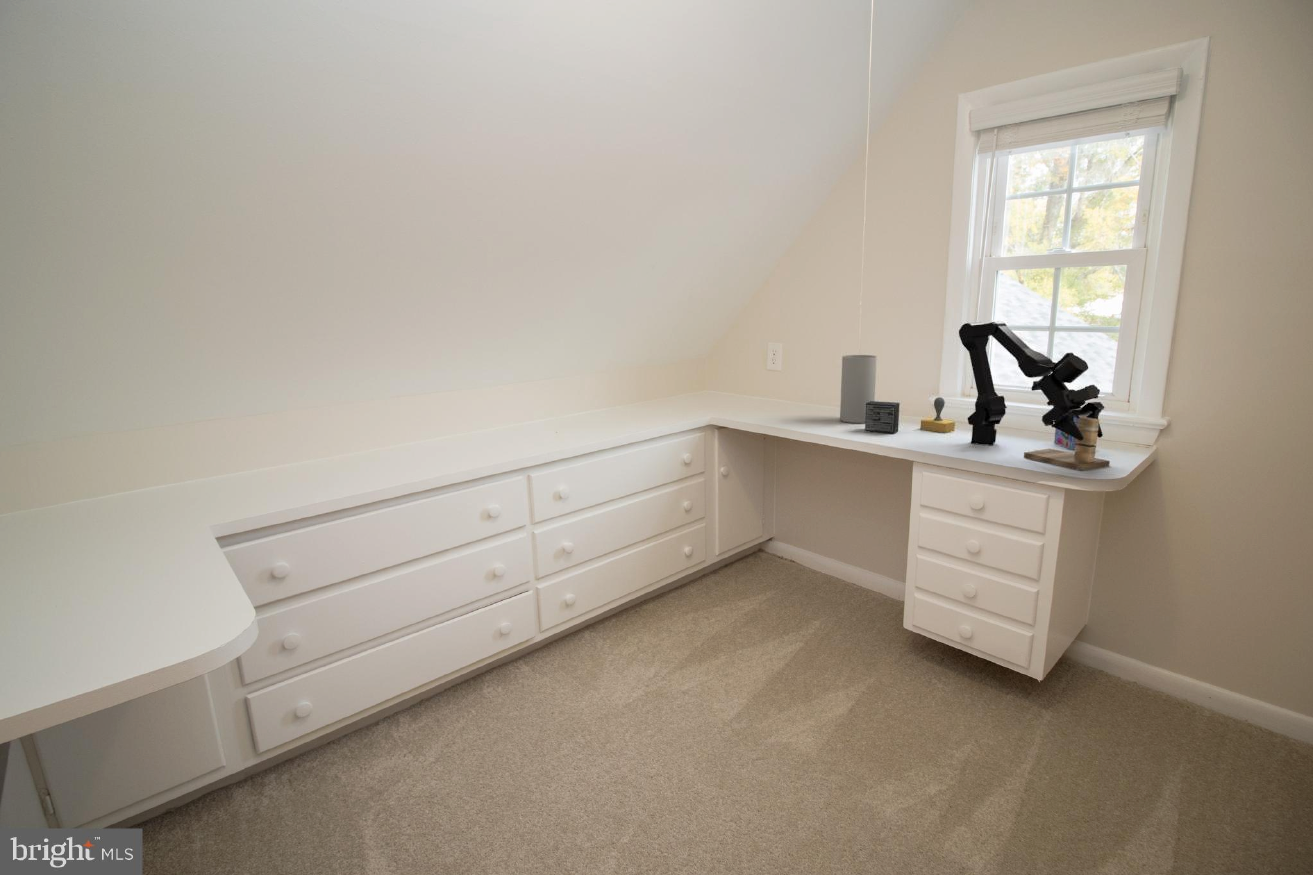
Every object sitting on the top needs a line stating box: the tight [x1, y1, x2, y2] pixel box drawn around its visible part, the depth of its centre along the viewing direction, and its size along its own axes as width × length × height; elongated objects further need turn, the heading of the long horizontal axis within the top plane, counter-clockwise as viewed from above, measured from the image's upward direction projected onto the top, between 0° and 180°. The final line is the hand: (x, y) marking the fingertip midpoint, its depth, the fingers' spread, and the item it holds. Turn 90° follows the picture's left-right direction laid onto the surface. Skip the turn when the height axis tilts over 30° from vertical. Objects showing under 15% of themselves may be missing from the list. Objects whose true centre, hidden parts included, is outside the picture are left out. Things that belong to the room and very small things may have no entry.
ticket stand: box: [1023, 443, 1111, 471], centre depth 184 cm, size 18×11×6 cm, turn 24°
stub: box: [1076, 417, 1100, 446], centre depth 178 cm, size 4×2×7 cm, turn 24°
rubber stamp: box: [919, 396, 956, 434], centre depth 230 cm, size 10×6×12 cm, turn 35°
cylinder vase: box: [839, 354, 878, 425], centre depth 249 cm, size 12×12×25 cm
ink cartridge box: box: [1054, 416, 1079, 450], centre depth 201 cm, size 10×6×14 cm, turn 174°
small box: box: [864, 401, 900, 435], centre depth 230 cm, size 11×6×10 cm, turn 58°
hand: (1091, 438), depth 177 cm, fingers open, 8 cm apart
